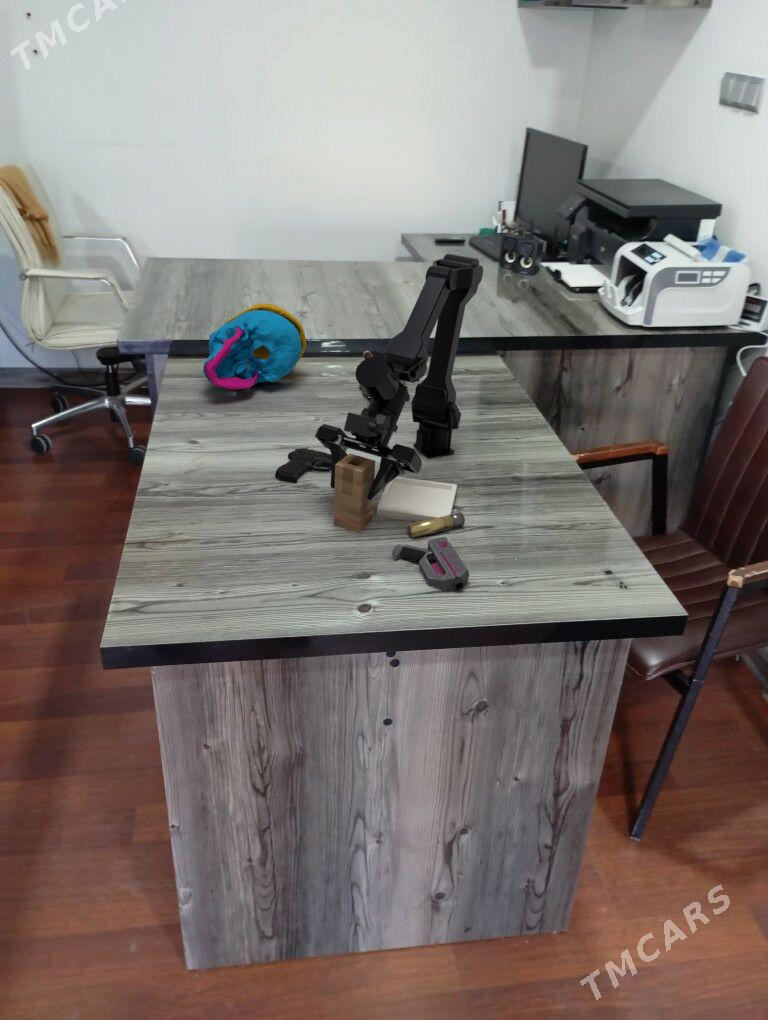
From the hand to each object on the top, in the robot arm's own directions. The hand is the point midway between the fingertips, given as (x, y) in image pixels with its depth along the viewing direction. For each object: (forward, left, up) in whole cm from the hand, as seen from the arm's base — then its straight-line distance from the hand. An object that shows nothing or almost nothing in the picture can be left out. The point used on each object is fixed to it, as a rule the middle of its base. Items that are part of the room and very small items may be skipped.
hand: (350, 493), depth 143 cm
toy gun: (-6, +17, -7) cm, 20 cm away
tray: (-15, -2, -7) cm, 17 cm away
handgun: (-4, -20, -7) cm, 22 cm away
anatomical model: (-7, -67, -7) cm, 68 cm away
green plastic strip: (-33, +32, -7) cm, 46 cm away
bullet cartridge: (-13, +7, -7) cm, 16 cm away
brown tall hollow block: (-1, -1, -7) cm, 7 cm away
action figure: (-35, -53, -7) cm, 64 cm away
